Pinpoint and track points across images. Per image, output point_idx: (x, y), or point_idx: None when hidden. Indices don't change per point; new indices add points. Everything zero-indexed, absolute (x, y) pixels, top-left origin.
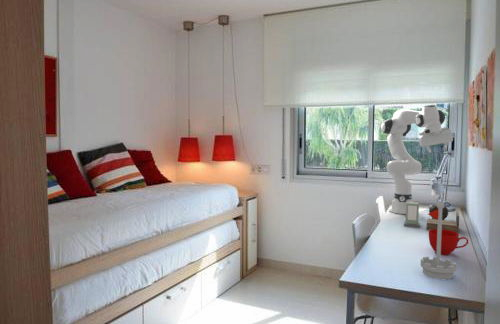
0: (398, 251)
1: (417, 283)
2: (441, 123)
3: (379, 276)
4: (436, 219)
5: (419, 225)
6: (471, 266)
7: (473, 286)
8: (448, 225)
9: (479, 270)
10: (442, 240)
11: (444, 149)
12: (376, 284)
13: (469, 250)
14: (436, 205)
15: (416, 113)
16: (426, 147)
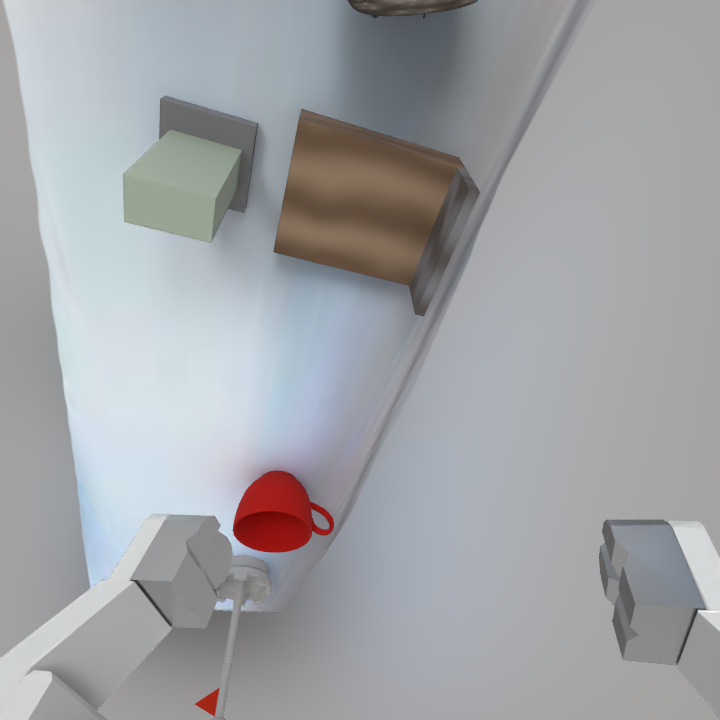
0: (166, 491)
1: None
2: None
3: None
4: (352, 138)
5: (243, 210)
6: (318, 534)
7: (290, 588)
8: (374, 275)
9: (326, 546)
10: (265, 539)
11: (606, 582)
12: None
13: (358, 455)
14: (391, 4)
15: None
16: (6, 691)
